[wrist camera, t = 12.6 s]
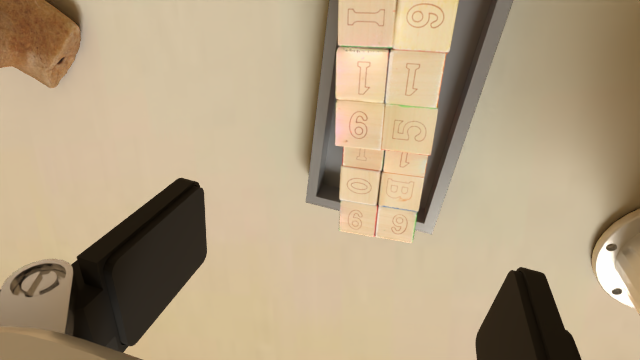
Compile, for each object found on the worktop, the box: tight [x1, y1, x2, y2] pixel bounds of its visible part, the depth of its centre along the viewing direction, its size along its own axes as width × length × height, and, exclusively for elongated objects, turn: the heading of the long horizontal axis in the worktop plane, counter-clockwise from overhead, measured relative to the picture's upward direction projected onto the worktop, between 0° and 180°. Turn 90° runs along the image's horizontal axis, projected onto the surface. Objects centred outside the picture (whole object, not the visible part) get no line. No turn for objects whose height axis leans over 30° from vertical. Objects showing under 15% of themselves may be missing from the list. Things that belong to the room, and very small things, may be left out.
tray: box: [306, 0, 513, 234], centre depth 32 cm, size 13×28×4 cm, turn 173°
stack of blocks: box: [335, 0, 459, 243], centre depth 27 cm, size 21×6×12 cm, turn 179°
